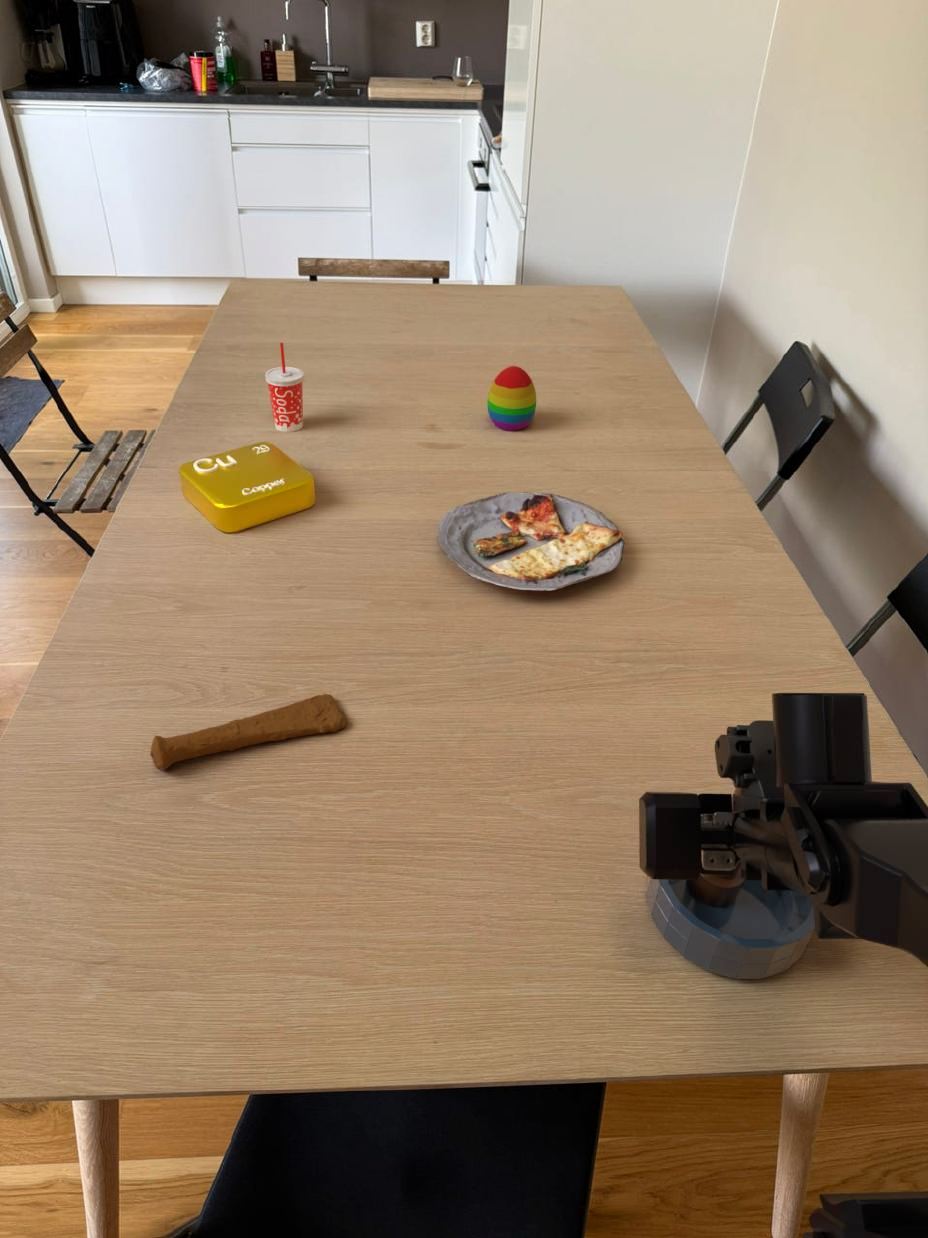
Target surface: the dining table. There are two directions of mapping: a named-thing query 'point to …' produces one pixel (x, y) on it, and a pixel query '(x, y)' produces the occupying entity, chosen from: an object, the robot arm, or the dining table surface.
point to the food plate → (530, 540)
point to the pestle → (718, 884)
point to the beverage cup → (286, 396)
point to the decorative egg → (512, 399)
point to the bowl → (734, 927)
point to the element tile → (247, 486)
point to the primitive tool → (252, 730)
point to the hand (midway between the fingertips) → (730, 825)
